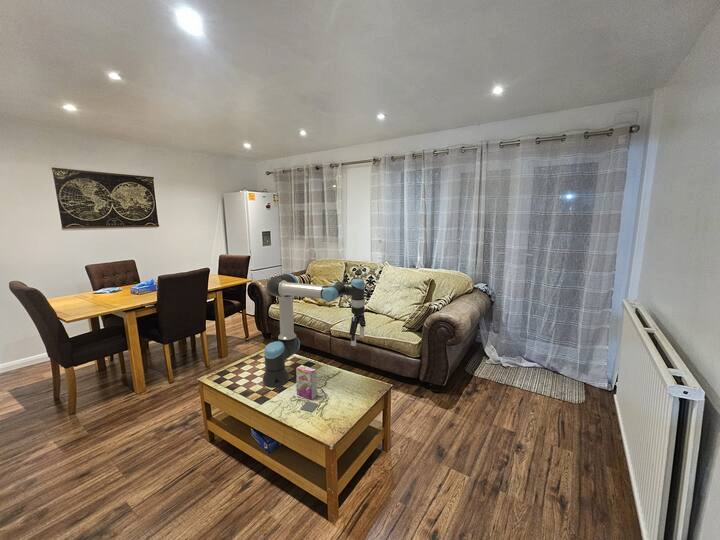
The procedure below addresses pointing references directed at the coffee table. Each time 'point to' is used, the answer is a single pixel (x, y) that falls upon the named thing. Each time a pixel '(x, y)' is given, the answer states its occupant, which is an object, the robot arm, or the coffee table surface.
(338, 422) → the coffee table surface
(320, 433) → the coffee table surface
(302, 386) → the candy bar box
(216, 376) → the coffee table surface
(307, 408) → the slate coaster
